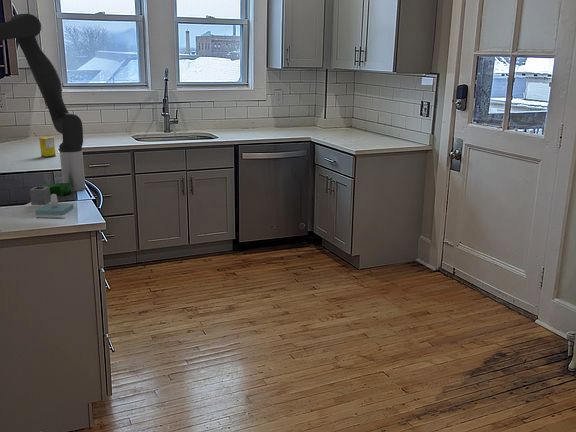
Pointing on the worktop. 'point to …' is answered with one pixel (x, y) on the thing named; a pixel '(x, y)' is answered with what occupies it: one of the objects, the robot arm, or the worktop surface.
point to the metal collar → (40, 195)
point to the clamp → (59, 188)
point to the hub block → (54, 208)
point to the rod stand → (36, 205)
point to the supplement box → (47, 147)
